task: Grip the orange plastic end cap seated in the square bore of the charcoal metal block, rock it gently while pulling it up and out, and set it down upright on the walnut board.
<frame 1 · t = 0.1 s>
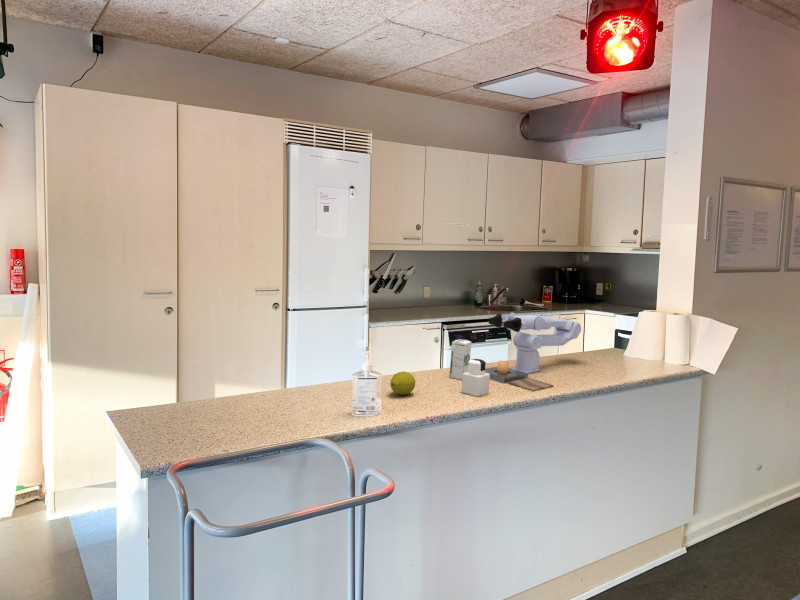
hand: (496, 322, 237), 22 cm above the table, tool horizontal, fingers open, 7 cm apart
lemon: (401, 395, 210), on the table
socket block: (502, 376, 241), on the table
walnut board: (530, 385, 230), on the table
medicine bottle: (475, 393, 217), on the table
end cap: (502, 369, 240), in the socket block
syrup box: (459, 378, 237), on the table
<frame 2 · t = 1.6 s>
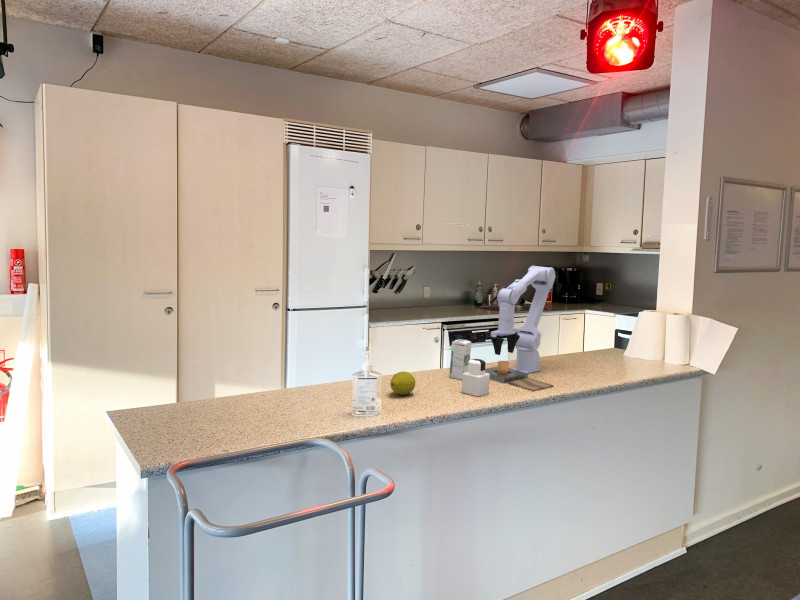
hand: (504, 353, 239), 9 cm above the table, tool pointing down, fingers open, 7 cm apart
nothing on the table moved.
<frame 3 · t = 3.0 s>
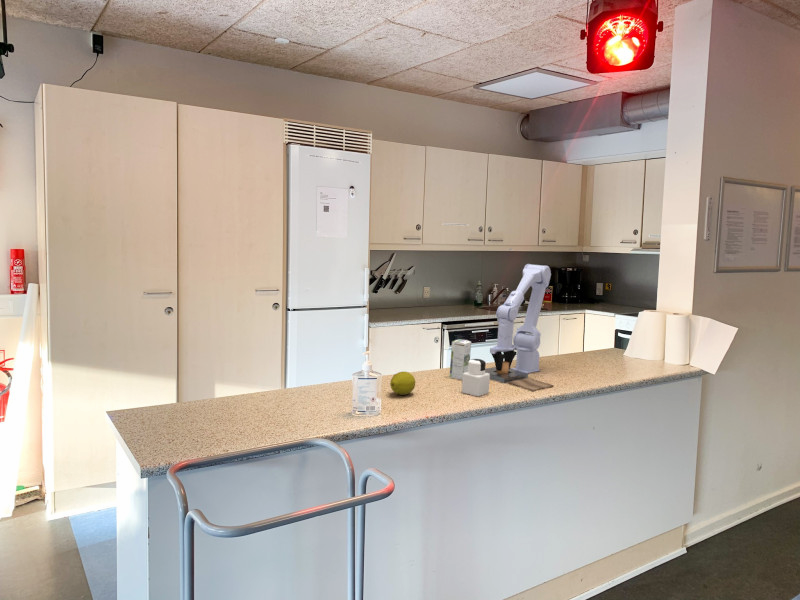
hand: (502, 369, 240), 3 cm above the table, tool pointing down, fingers closed on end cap, 4 cm apart
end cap: (502, 369, 240), in the socket block, touching gripper
everything else where it was.
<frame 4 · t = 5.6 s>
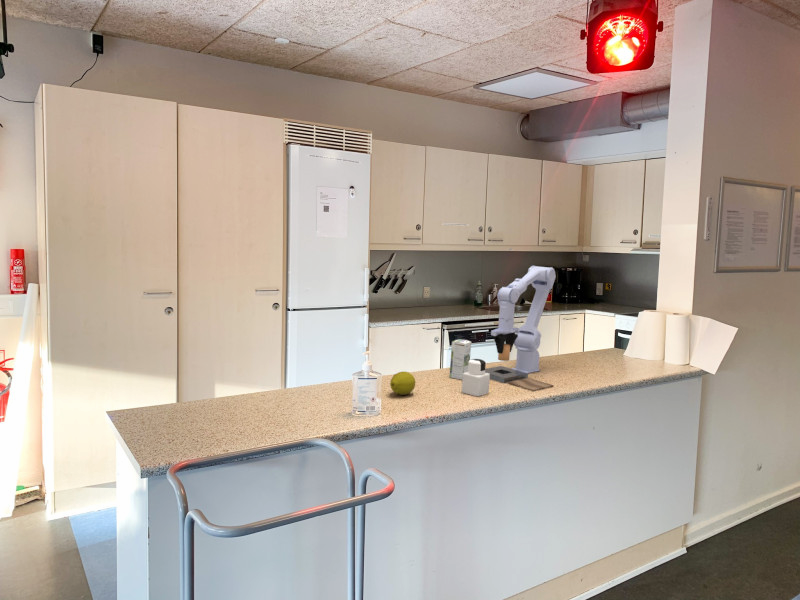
hand: (504, 352, 239), 10 cm above the table, tool pointing down, fingers closed on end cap, 4 cm apart
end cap: (504, 352, 239), point 10 cm above the table, touching gripper
everything else where it was.
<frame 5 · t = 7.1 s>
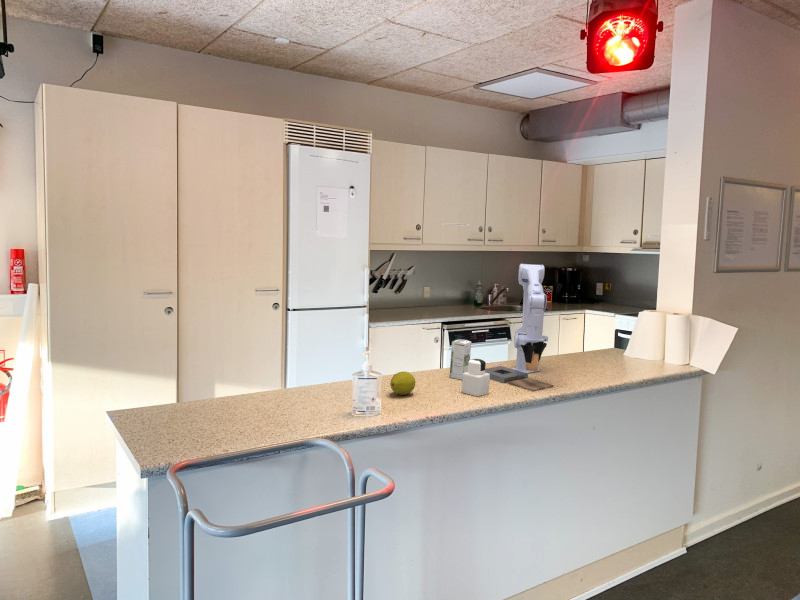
hand: (532, 361, 229), 9 cm above the table, tool pointing down, fingers closed on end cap, 4 cm apart
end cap: (532, 361, 229), point 9 cm above the table, touching gripper
everything else where it was.
when the fingers open (5 cm above the table, at t = 8.3 s): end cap drops 1 cm, resting on walnut board.
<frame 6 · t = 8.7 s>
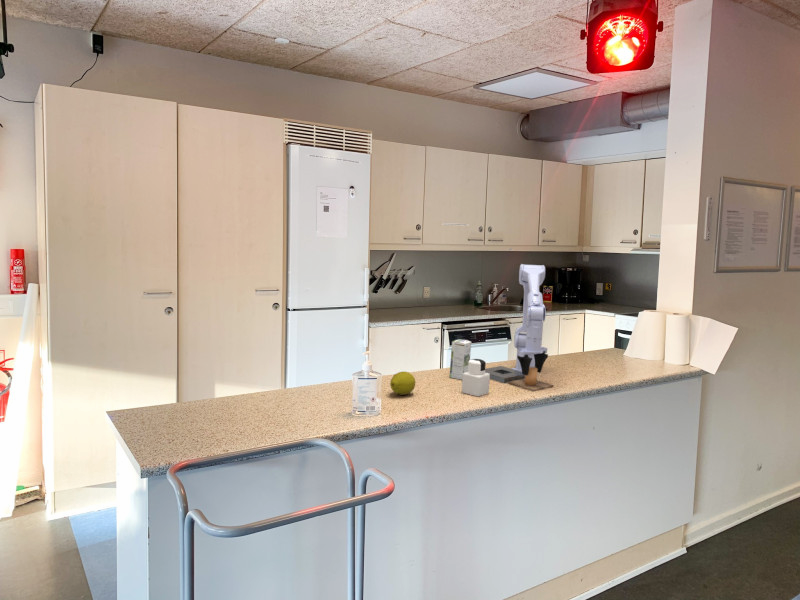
hand: (531, 373, 229), 5 cm above the table, tool pointing down, fingers open, 7 cm apart
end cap: (531, 375, 229), on the walnut board, point 4 cm above the table
everything else where it was.
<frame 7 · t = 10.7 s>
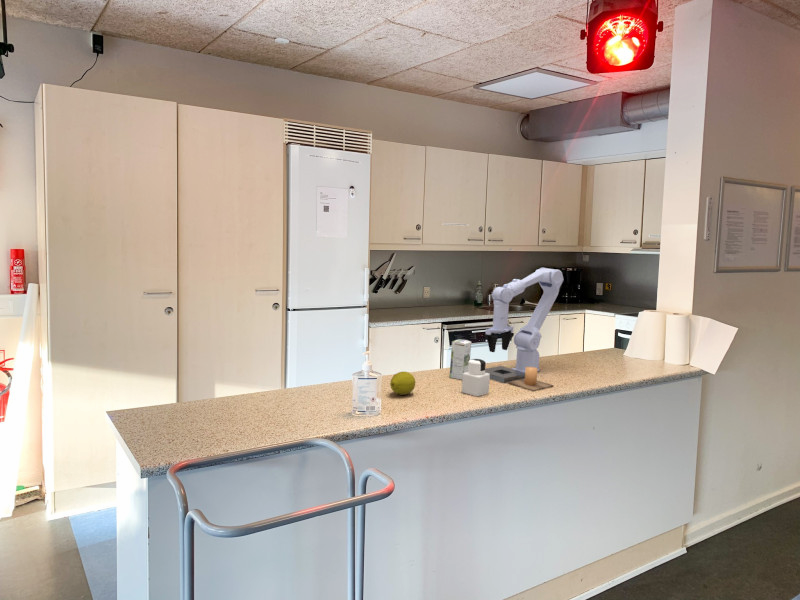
hand: (498, 350, 244), 9 cm above the table, tool pointing down, fingers open, 7 cm apart
nothing on the table moved.
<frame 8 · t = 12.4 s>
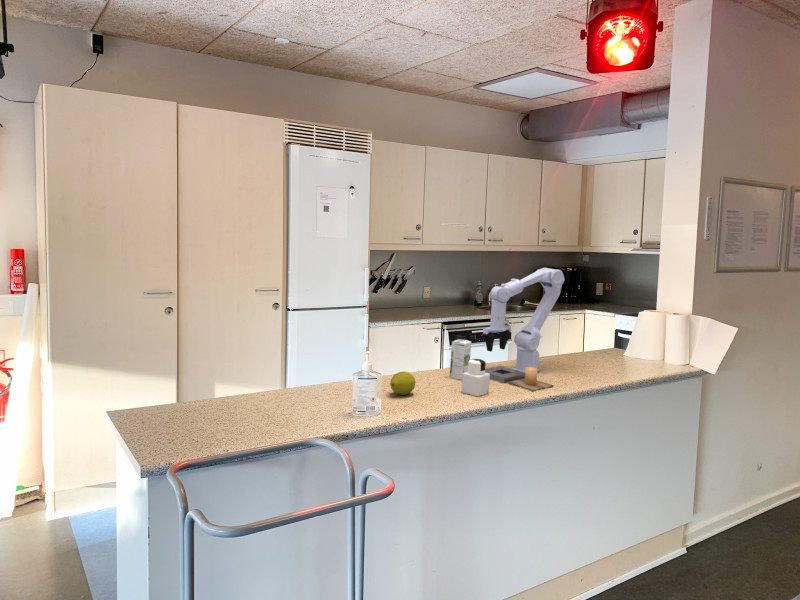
hand: (495, 350, 245), 9 cm above the table, tool pointing down, fingers open, 7 cm apart
nothing on the table moved.
at the end: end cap inside the target area on the walnut board (0.1 cm from its centre), point 3.6 cm above the walnut board's base; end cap tilted 0°; the gripper is holding nothing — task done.
